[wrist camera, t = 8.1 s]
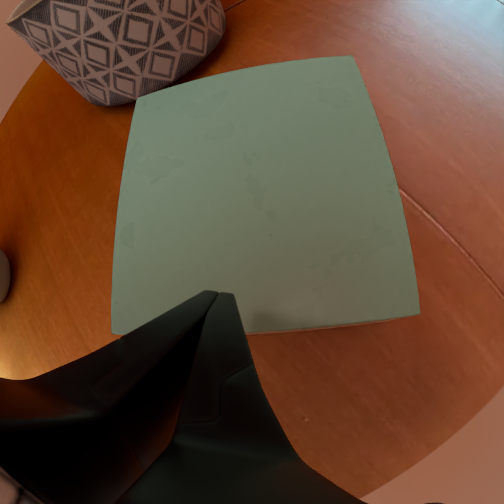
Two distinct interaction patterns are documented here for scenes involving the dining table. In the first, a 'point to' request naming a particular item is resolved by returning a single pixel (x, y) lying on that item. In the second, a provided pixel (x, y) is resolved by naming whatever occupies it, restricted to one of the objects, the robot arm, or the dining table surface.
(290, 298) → the lid
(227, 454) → the robot arm
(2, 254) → the cup
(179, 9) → the planter
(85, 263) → the dining table surface
